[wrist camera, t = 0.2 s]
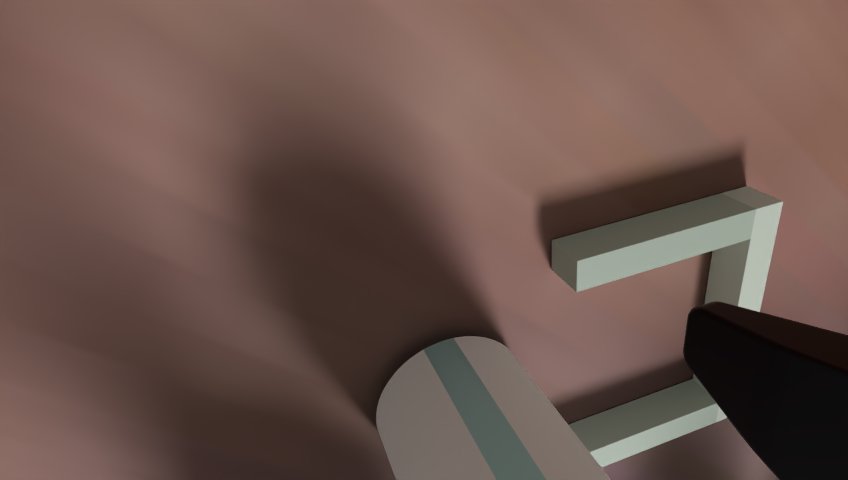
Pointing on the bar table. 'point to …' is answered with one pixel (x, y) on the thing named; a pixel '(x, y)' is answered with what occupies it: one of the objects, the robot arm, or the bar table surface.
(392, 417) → the can
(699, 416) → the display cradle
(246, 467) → the bar table surface
